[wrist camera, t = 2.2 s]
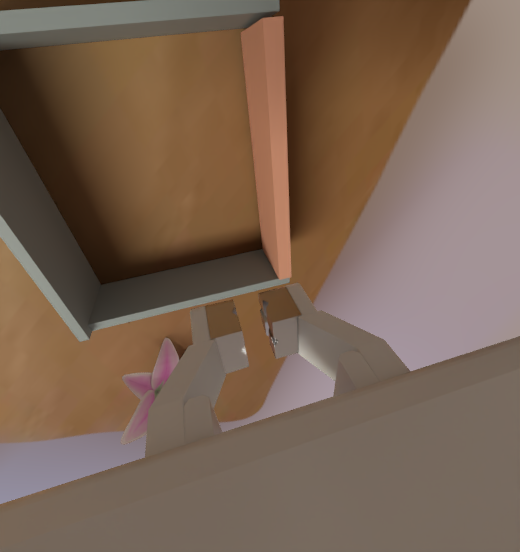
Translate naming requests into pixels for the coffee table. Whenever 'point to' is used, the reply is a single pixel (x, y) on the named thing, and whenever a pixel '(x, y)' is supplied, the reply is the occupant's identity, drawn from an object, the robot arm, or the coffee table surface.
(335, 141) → the coffee table surface
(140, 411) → the lily
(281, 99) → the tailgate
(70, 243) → the frame
